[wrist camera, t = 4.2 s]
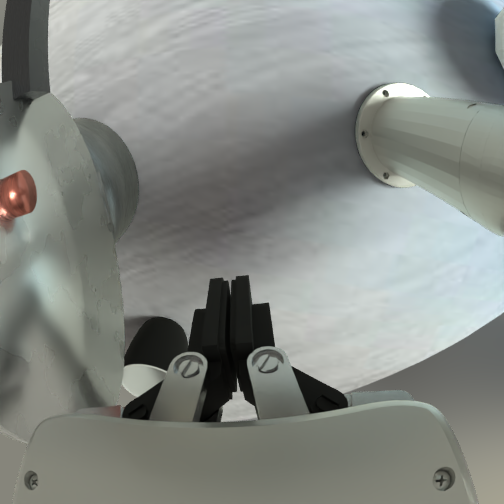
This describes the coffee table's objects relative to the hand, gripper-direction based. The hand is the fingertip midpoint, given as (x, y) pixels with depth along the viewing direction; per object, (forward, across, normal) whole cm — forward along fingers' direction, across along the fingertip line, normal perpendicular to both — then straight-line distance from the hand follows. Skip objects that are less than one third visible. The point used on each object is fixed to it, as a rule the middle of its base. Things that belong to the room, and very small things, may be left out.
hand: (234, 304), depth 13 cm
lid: (+1, +10, -6) cm, 11 cm away
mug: (+20, +13, +22) cm, 33 cm away
